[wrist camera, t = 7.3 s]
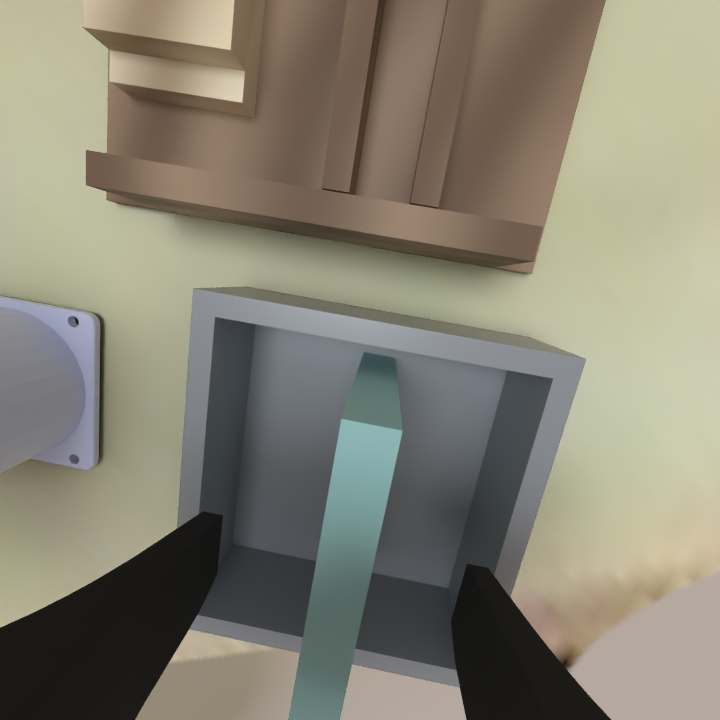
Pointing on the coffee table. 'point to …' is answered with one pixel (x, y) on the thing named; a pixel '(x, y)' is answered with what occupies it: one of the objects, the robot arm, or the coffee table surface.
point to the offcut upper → (173, 29)
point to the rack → (376, 128)
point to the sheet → (349, 538)
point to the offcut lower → (194, 77)
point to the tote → (317, 452)
